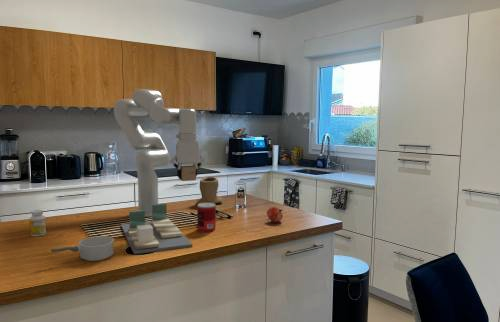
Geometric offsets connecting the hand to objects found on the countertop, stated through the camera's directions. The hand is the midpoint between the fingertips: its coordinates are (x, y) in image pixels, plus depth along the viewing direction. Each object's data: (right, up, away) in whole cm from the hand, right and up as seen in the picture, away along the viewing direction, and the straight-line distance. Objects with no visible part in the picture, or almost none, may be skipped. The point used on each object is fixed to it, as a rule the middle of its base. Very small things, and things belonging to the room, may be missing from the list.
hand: (187, 177), depth 173 cm
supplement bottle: (-58, -23, -15) cm, 64 cm away
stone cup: (+6, -17, +44) cm, 47 cm away
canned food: (+9, -22, -5) cm, 25 cm away
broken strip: (-14, -22, -22) cm, 34 cm away
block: (-11, -22, -28) cm, 37 cm away
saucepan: (-28, -26, -41) cm, 56 cm away
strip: (-8, -21, -9) cm, 24 cm away
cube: (0, -1, 0) cm, 1 cm away
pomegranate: (+39, -21, +9) cm, 45 cm away
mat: (-11, -23, -15) cm, 30 cm away
